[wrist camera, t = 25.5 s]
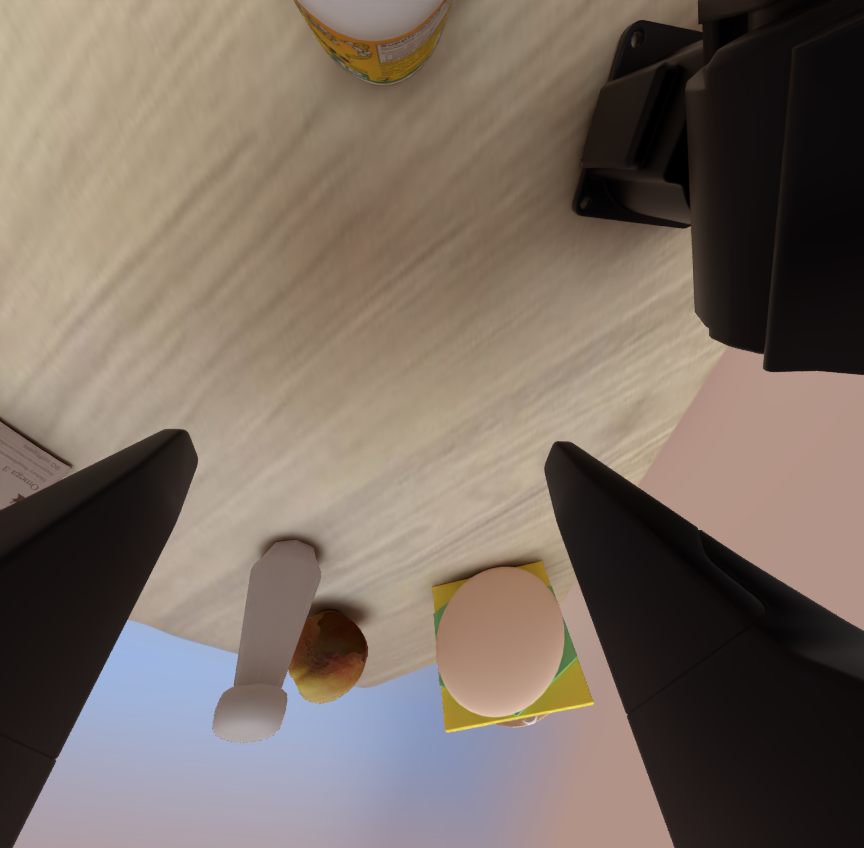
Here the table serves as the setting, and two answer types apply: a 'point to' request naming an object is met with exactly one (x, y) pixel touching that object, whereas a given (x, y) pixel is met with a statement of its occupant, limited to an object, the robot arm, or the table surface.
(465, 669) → the hamburger
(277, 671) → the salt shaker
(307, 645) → the fruit
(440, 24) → the supplement bottle
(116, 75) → the table surface
